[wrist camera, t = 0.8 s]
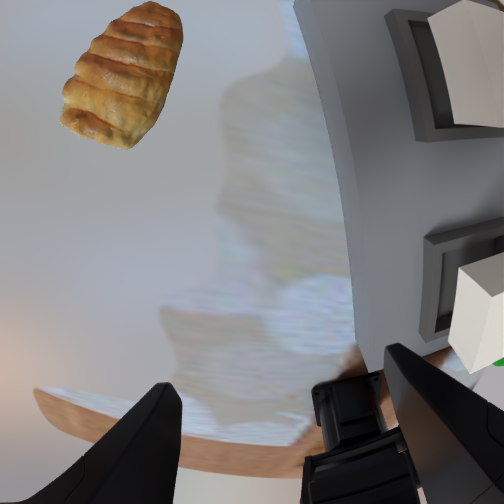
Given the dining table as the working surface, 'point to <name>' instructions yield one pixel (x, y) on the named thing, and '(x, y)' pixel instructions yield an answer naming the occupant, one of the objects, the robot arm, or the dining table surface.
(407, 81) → the panel
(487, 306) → the button
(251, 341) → the dining table surface
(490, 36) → the button
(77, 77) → the pastry
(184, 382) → the dining table surface
